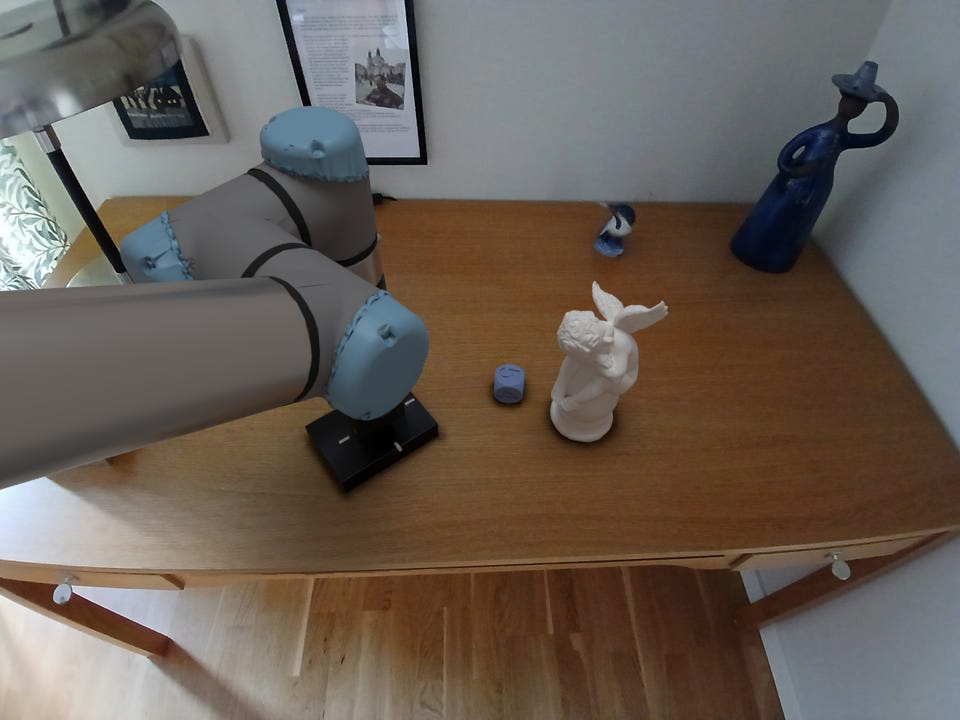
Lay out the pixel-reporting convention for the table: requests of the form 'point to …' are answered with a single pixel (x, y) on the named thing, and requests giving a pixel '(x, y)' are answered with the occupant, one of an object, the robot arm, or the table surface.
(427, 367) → the table surface
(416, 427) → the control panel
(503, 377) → the decorative dice
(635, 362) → the cherub figurine
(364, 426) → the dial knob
